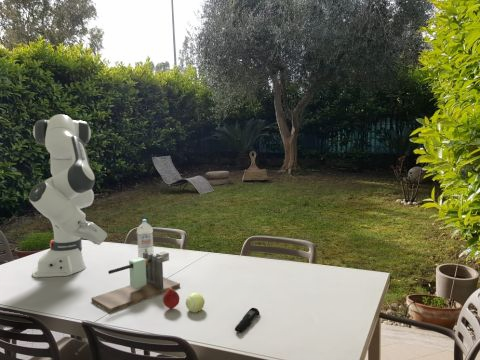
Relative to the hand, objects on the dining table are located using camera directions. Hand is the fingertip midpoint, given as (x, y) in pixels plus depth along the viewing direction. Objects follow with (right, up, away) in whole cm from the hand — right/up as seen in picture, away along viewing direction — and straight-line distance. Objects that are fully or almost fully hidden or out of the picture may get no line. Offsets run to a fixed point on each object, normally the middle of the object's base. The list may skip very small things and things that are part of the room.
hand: (98, 242), depth 144 cm
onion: (+27, -24, -1) cm, 36 cm away
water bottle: (+9, -20, +34) cm, 40 cm away
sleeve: (+11, -19, +12) cm, 25 cm away
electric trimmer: (+54, -25, -12) cm, 61 cm away
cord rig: (+11, -22, +12) cm, 28 cm away
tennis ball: (+35, -24, -3) cm, 43 cm away
